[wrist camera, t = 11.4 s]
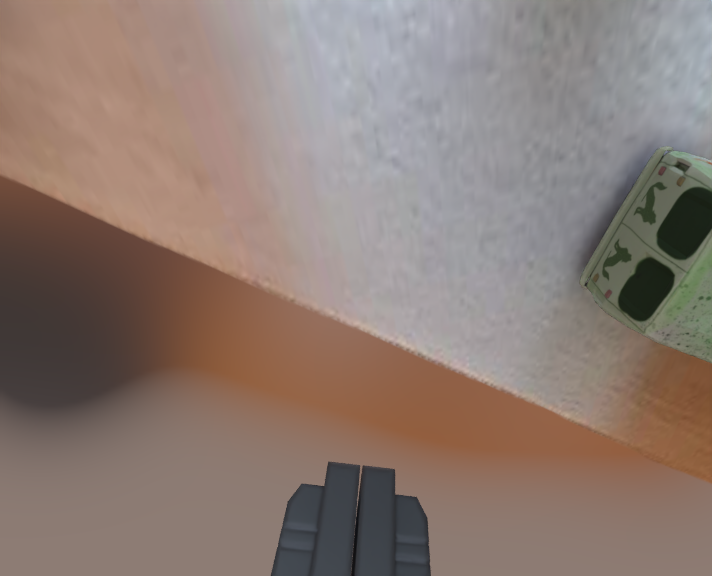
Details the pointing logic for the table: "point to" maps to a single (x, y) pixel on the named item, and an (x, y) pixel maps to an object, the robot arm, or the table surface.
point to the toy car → (661, 255)
